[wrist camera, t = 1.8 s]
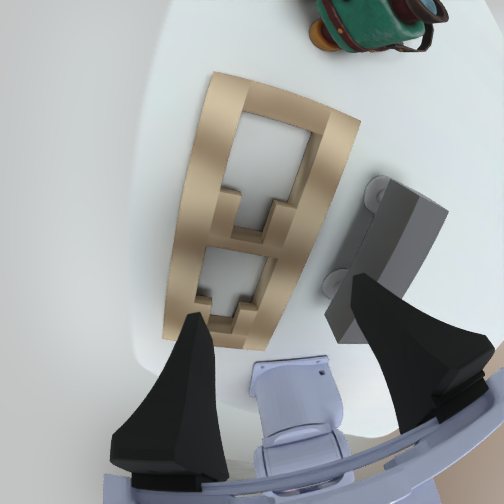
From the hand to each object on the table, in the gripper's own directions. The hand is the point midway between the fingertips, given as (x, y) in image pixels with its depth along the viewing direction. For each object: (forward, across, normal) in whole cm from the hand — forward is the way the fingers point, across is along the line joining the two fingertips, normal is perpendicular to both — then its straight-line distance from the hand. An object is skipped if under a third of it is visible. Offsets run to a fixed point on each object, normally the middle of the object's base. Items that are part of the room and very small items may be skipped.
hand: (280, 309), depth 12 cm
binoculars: (+11, -10, -16) cm, 22 cm away
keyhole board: (+10, +1, +1) cm, 10 cm away
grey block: (+10, -9, +5) cm, 14 cm away
